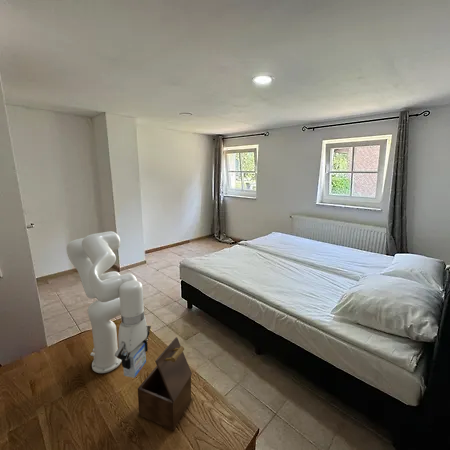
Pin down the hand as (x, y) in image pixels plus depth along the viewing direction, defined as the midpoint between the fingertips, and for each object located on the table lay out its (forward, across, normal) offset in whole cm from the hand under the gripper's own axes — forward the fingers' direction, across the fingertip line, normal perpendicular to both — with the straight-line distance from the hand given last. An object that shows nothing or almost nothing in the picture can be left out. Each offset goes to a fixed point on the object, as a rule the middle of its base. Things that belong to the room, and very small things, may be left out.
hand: (135, 358), depth 89 cm
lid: (+1, -3, +14) cm, 15 cm away
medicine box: (+5, 0, 0) cm, 5 cm away
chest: (+20, -3, +11) cm, 23 cm away
